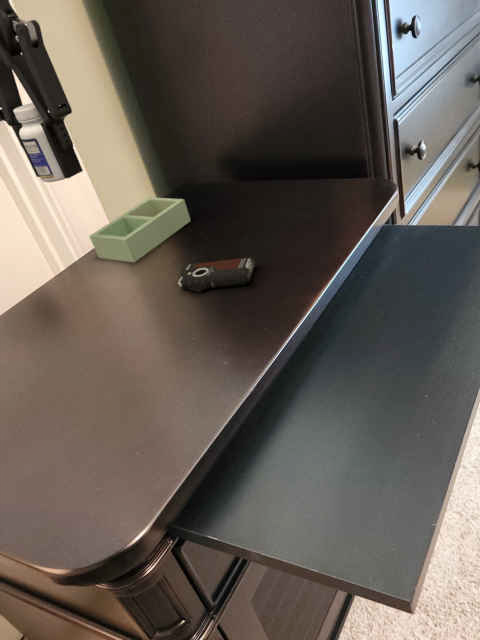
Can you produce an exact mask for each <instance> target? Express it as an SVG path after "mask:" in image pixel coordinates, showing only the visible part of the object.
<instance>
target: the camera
mask: <svg viewBox="0 0 480 640" xmlns="http://www.w3.org/2000/svg"><path fill="white" fill-rule="evenodd" d="M255 268H256V259H255V258H254V256H252V257H241V258H234V259H233V258H232V259H225V260H215V261H207V262H197V263H189V264H184V265H183V267H182V268H181V270H180V272H179V274H180V278H179V280H178V282H177V284H178V286H179V287H181V288H183V289H187V290H188V291H190V292H195V293H201V292H202V291H203V290H207V289H214V288H225V287H226V288H227V287H236V286H244V285H247V283H250V281H251V279H252V276H253V273H254V271H255Z"/></svg>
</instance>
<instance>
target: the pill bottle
mask: <svg viewBox="0 0 480 640" xmlns="http://www.w3.org/2000/svg"><path fill="white" fill-rule="evenodd" d="M13 112H14V114H15V116H16V118H17V120H18V122H19V123H21V124H22V126H23V127H22V128H21V129H20V131H19V135H20V138H21V140H22V142H23V144H24V146H25V148H26V150H27V152H28V154H29V156H30V158H31V160H32V162H33V164H34V166H35V168H36V170H37V172H38V174H39V176H40V177H39V179H40V180H41V181H42V182H43V183H54V182H59V181H63V180H66V179H67V178H65V177H64V175H63V173H62V171H61V168H60V166H59V164H58V162H57V160H56V157H55V155H54V153H53V151H52V148H51V146H50V144H49V142H48V139H47V137H46V135H45V133H44V131H43V128H42V126H41V125H40V124H41V123H42V122H44V120H43V119H42V117H41V116H40V114H39V112H38V111H37V109H36V107H35V106H34V104H33V102H30V103H27V104H23V106H20V107H18V108H16V109H14V110H13Z"/></svg>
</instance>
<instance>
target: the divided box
mask: <svg viewBox="0 0 480 640" xmlns="http://www.w3.org/2000/svg"><path fill="white" fill-rule="evenodd" d="M191 221H192V220H191V217H190V213H189V210H188V206H187V204H186V200H185V198H184V199H183V198H171V197H170V198H169V197H152V196H150V197H148V198H146V199H144V200H143V201H141V202H140V203H139V204H137V205H135V206H133V207H132V208H130V209H128V210H127V211H126V212H124V213H123V214H121V215H119V216H118V217H116V218H115V219H113V220H112V221H110V222H109V223H107V224H106V225H104V226H102V227H101V228H99V229H98V230H96V231H95V232H93V233H92V234H89V240H90V241H91V244H92V245H93V248H94V250H95V252H96V255H97V257H98V259H103V260H111V261H119V262H126V263H136V262H138V260H139V261H140V259H142V258H143V257H144V256H145V255H147V254H148V253H150V252H151V251H152V250H154V249H155V248H157V247H158V246H159V245H161V244H162V243H163V242H165V241H166V240H167V239H169V238H170V237H171V236H172V235H174V234H175V233H177V232H178V231H179V230H180V229H182V228H183V227H184V226H186V225H187V224H189V223H190V222H191Z"/></svg>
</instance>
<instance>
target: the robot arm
mask: <svg viewBox="0 0 480 640" xmlns="http://www.w3.org/2000/svg"><path fill="white" fill-rule="evenodd" d="M12 6H13V5H11V2H10V0H0V122H2V121H3V122H6V124H7V125H8V126H9V127H11V128H12V130H13V133H14V134H15V136H16V138H17V140H18V142H19V145H20V146H21V148H22V150H23V151H24V153H25V155H26V157H27V160H28V162H29V163H30V166H31V168H32V170H33V172H34V174H35V176H36V177H37V178H40V176H39V174H38V172H37V170H36V168H35V166H34V164H33V162H32V160H31V158H30V156H29V154H28V152H27V150H26V148H25V146H24V144H23V142H22V140H21V138H20V135H19V131H20V129H21V128H22V127H23V126H22V124H21V123H19V122H18V120H17V118H16V116H15V114H14V112H13V110H14V109H16V108H18V107H20V106H23V105H24V104H23V102H22V98H21V94H20V92H19V87H18V85H17V82H16V78H17V80H18V81H19V83H20V84H21V86H22V88H23V89H24V92H25V93H26V94H27V96H28V98H29V99H30V101H31V103H33V104H34V106H35V107H36V109H37V111H38V112H39V114H40V116H41V117H42V119H43V120H44V122H42V123H41V124H40V125H41V126H42V128H43V131H44V133H45V135H46V137H47V139H48V142H49V144H50V146H51V148H52V151H53V153H54V155H55V157H56V160H57V162H58V164H59V166H60V168H61V171H62V173H63V175H64V177H65V178H66V179H70V178H72V177H74V176H76V175H78V174H80V173H82V172H84V171H83V167H82V165H81V163H80V160H79V158H78V156H77V153H76V150H75V148H74V143H73V140H72V138H71V136H70V133H69V130H68V128H67V126H66V123H65V119H66V117H67V116H68V115H71V114H72V113H73V110H72V106H71V104H70V102H69V100H68V97H67V95H66V93H65V90H64V89H63V86H62V83H61V81H60V78H59V76H58V74H57V72H56V69H55V67H54V65H53V62H52V60H51V57H50V55H49V53H48V50H47V48H46V46H45V43H44V38H43V34H42V31H41V30H42V29H41V26H40V24H39V22H38V21H37V20H36V19H32V20H27V21H26V20H24V19H21V18H20V17H19V15H18V14H17V12H16V11H15V9H14V8H13V7H12ZM15 76H16V78H15Z"/></svg>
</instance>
